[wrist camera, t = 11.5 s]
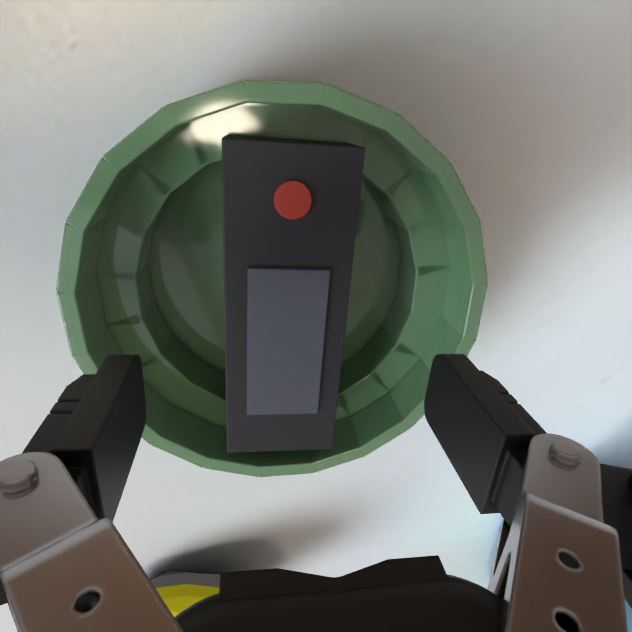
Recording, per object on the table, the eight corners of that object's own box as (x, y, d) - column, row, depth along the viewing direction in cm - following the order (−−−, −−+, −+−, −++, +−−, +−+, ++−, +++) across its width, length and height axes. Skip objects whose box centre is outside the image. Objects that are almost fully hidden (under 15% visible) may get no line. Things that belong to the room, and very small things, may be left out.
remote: (226, 134, 15) (220, 137, 13) (350, 143, 16) (366, 147, 13) (229, 416, 20) (226, 455, 18) (324, 414, 21) (333, 452, 18)
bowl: (24, 239, 18) (-50, 280, 14) (321, -1, 16) (347, -45, 12) (250, 451, 25) (250, 527, 20) (485, 300, 22) (544, 346, 18)
